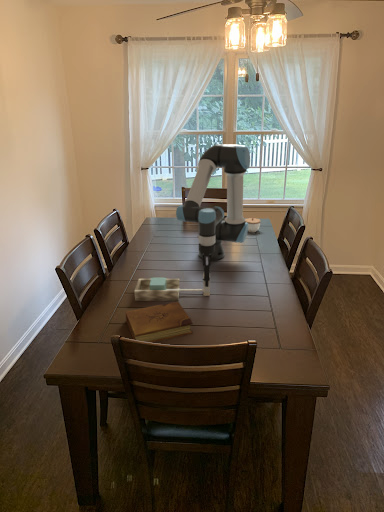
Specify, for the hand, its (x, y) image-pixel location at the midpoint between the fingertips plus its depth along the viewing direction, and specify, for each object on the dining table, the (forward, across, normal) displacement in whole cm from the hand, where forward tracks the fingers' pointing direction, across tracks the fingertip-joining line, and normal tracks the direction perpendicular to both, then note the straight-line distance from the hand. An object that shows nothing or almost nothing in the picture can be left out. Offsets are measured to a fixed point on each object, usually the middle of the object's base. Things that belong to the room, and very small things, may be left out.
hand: (206, 288), depth 177 cm
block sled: (+2, 0, -12) cm, 13 cm away
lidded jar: (+3, -93, +33) cm, 99 cm away
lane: (+3, 0, -23) cm, 23 cm away
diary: (+3, +28, -20) cm, 35 cm away
